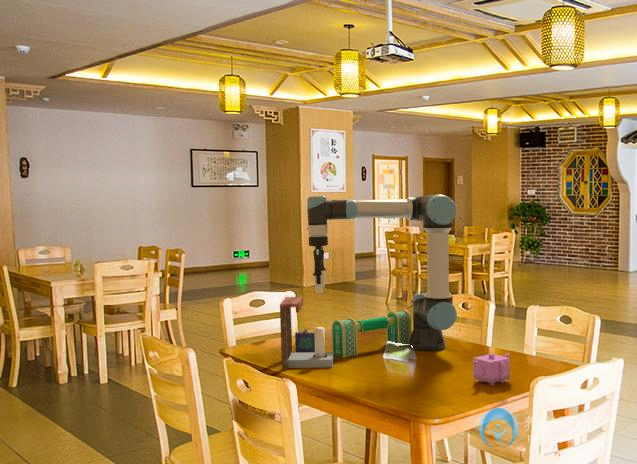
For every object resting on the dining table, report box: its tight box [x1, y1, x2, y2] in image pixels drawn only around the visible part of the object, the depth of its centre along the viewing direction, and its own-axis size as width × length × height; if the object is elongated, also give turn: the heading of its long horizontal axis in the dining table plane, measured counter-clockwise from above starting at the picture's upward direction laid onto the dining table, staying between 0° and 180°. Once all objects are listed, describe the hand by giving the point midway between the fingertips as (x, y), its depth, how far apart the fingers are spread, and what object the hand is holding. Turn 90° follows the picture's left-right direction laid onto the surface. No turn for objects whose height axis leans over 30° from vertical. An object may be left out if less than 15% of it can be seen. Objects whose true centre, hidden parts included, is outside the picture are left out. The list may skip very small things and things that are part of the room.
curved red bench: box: [279, 296, 304, 371], centre depth 265 cm, size 7×18×25 cm, turn 176°
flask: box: [294, 327, 315, 353], centre depth 282 cm, size 9×3×11 cm, turn 88°
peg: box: [313, 326, 326, 358], centre depth 264 cm, size 4×4×14 cm
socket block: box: [288, 351, 335, 369], centre depth 265 cm, size 17×12×3 cm
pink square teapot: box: [472, 353, 511, 386], centre depth 233 cm, size 18×13×10 cm
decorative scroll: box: [331, 309, 413, 359], centre depth 286 cm, size 36×8×15 cm, turn 122°
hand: (320, 289), depth 264 cm, fingers open, 13 cm apart
